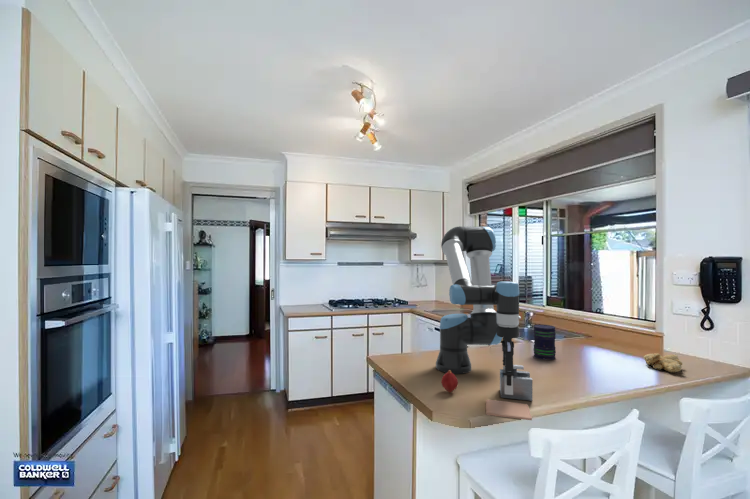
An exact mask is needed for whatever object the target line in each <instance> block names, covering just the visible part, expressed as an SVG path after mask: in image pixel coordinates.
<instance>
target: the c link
mask: <svg viewBox="0 0 750 499" xmlns="http://www.w3.org/2000/svg"><path fill="white" fill-rule="evenodd" d="M507 372H511V371H507ZM503 373H505V370H503V368H500V369H499V393H500V398H503V399H504V398H505V399H512V400H522V401H531V402H533V378H532V377H531V372H530V371H525V370H517V377H516V376H513V395H508V394H505V381H504V375H503Z"/></svg>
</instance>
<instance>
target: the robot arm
mask: <svg viewBox="0 0 750 499" xmlns="http://www.w3.org/2000/svg"><path fill="white" fill-rule="evenodd" d="M440 243H441V244H440V245H441V246H440V247H441V251H442V254H444V255H445V258H446V262H447V267H448V270H449V275H450V279H451V283H452V284H451V285H450V286H449V290H448V291H449V293H448V295H449V301H450V303H451V304H453V305H461V306H463V305H466V306H469V305H471V306H473V307H472V308H473V310H472V312H470V317H468V314H466V313H451V314H446V315H444V316H442V317H441V318H440V321H439V351H438V355H437V357H436V360H435V369H436V370H437V371H439V372H442V373H444V374H446V373H447V372H448V371H449V370H451V372H452V373H453V374H454V375H455V374H456V375H460V374H462V375H463V374H467V373H470V372H472V363H471V359H470V356H469V352H468V346H469V345H470V346H471V345H472V346H473V345H474V346H492V345H493V346H494V345H495V346H496V345H499V344H501V349H502V350H501V351H502V365H503V366H502V369H503V370H505V373H503V375H504V381H505V394H508V395H513V375H514V373H513V365H514V354H515V353H514V348H515V343H514V341H513V339H517V338H519V337H520V327H519V325H520V320H521V318H522V317H521V316H520V293H521V291H520V286H519V283H518V282H517V281H504V280H503V281H498V282H496V284H492V276H491V265H490V264H491V263H490V257H491V256H492V255H493V252H494V251H495V250H496V246H497V240H496V235H495V232H494V230H493V229H492V228H491V227H489V226H483V225H480V226H463V225H462V226H455V227H452V228H450V229H449V230H448V231H447V232H446V233H445V234H444V235H443V237H442V240H441V242H440ZM464 252H465V254H466V255H464ZM465 256H466V257H467V258H469V262H470V264H469V265H470V270H469V268H468V265H467V262H466V258H465ZM494 306H496V310H495V307H494ZM507 371H511V372H507Z"/></svg>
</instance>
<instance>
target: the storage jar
mask: <svg viewBox="0 0 750 499" xmlns="http://www.w3.org/2000/svg"><path fill="white" fill-rule="evenodd" d="M556 333H557V332H556V326H554V325H549V324H534V325H533V338H534V339H533V341H534V342H533V343H534V344H533V353H534V354H533V357H534V358H535V359H540V360H546V361H551V360H555V359H556V355H557V354H556V352H557V351H556V336H557V335H556Z"/></svg>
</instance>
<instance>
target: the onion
mask: <svg viewBox="0 0 750 499" xmlns="http://www.w3.org/2000/svg"><path fill="white" fill-rule="evenodd" d="M440 382H441V386H442V387H443V389H444V390H446V392H447V393H449V394H450V393H453V391H455V390H456V389H457V388H458V384H459V381H458V378H457V376H456V375H455V374H453V373H452V372H451V370H449V371H448V372H447V373H444V375H443V376H442V377H441V381H440Z"/></svg>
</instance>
